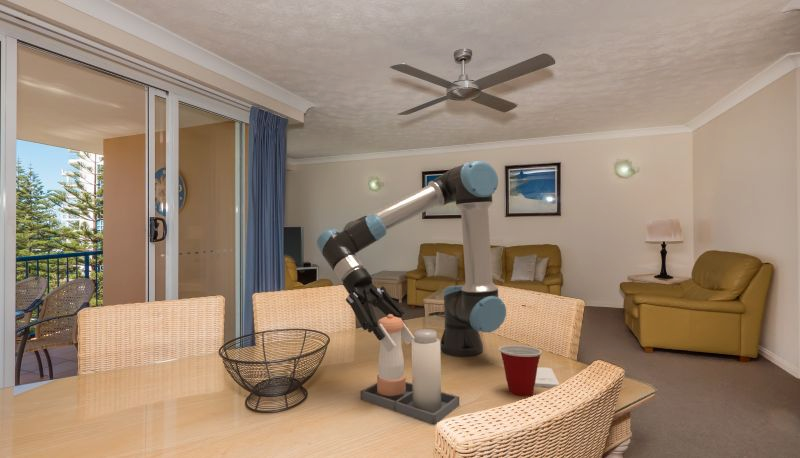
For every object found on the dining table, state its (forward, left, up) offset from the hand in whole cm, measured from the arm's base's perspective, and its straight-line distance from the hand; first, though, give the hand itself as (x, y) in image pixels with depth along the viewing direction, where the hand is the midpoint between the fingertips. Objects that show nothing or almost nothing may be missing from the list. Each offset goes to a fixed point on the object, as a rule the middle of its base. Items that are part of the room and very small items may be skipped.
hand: (401, 344), depth 94 cm
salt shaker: (0, +7, -14) cm, 15 cm away
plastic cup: (-22, +22, -15) cm, 34 cm away
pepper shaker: (0, -4, -12) cm, 13 cm away
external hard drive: (-35, +23, -16) cm, 45 cm away
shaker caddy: (0, +2, -15) cm, 15 cm away
